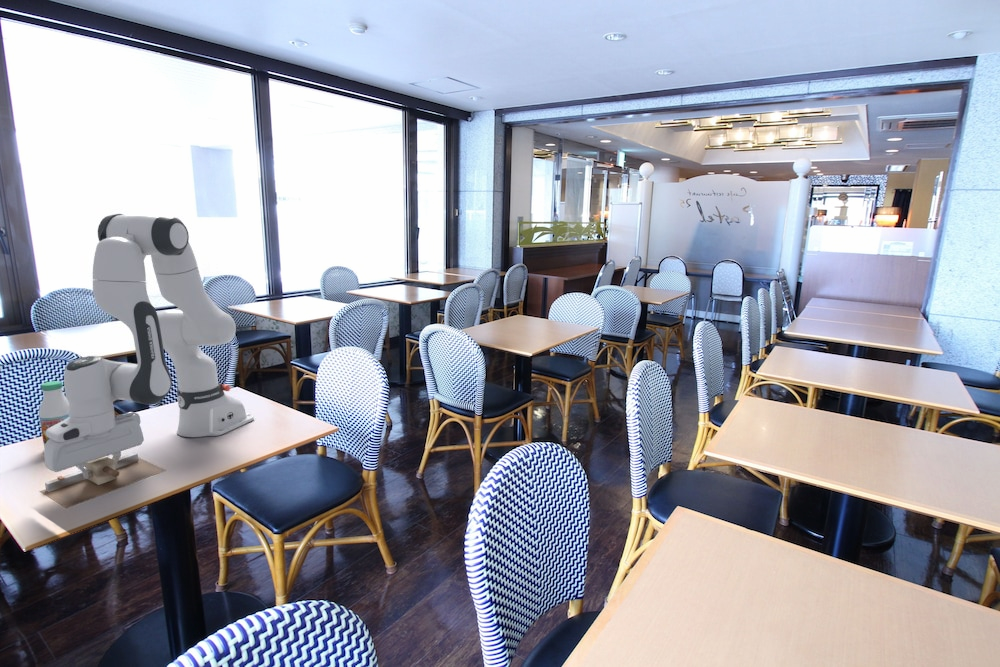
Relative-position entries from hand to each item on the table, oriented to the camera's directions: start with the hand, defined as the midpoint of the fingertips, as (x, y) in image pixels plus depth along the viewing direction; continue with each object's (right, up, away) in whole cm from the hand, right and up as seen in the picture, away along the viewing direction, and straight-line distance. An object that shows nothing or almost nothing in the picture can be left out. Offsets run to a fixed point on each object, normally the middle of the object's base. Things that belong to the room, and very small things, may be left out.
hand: (100, 473), depth 132 cm
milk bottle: (-27, +2, +21) cm, 34 cm away
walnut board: (+1, -3, 0) cm, 3 cm away
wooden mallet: (+2, -2, -1) cm, 3 cm away
